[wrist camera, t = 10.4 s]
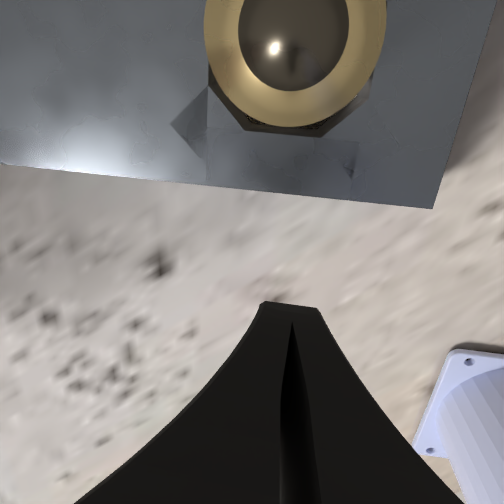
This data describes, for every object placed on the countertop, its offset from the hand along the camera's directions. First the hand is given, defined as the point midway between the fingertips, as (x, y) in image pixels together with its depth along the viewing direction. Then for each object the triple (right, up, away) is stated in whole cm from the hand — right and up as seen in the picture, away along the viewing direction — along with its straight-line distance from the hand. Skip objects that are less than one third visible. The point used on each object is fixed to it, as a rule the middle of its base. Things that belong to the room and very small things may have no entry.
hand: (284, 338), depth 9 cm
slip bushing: (+1, +10, +6) cm, 11 cm away
